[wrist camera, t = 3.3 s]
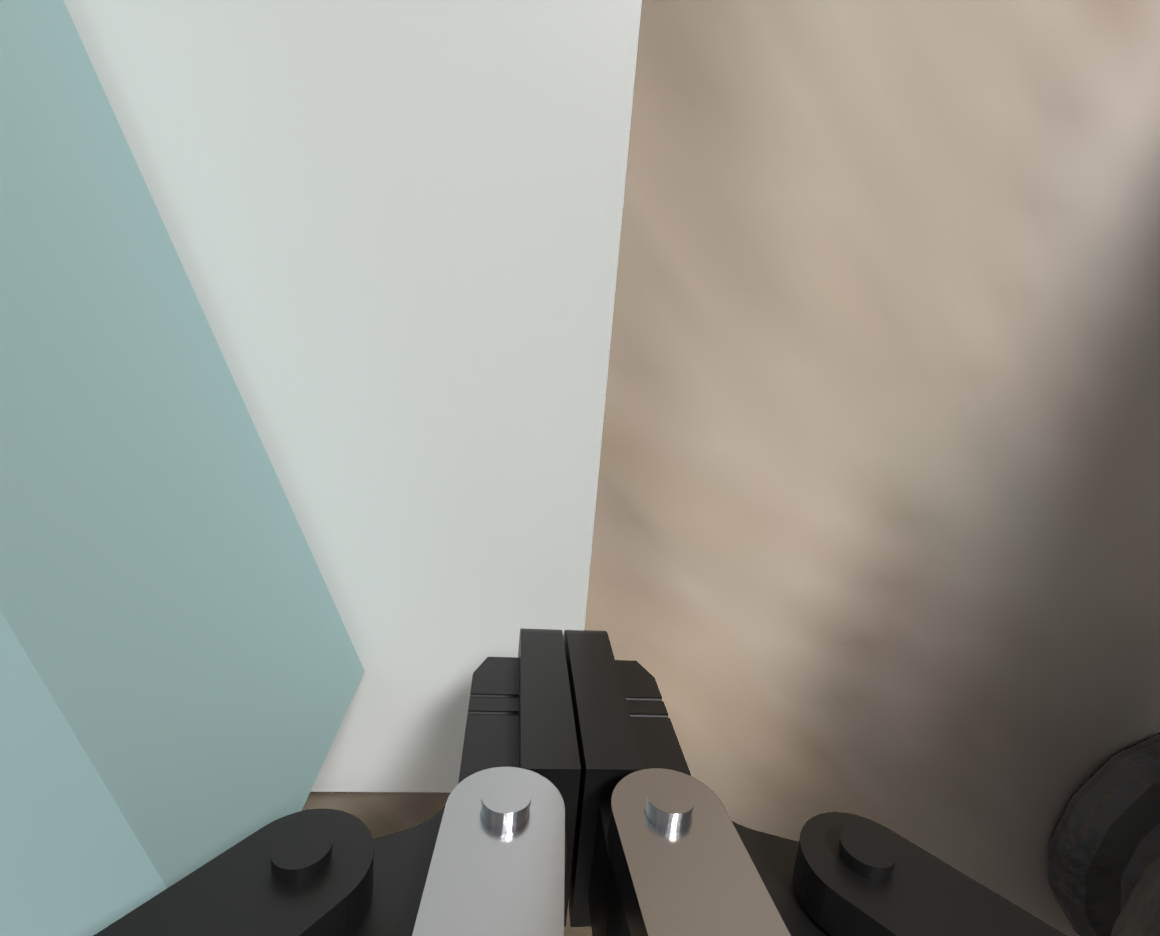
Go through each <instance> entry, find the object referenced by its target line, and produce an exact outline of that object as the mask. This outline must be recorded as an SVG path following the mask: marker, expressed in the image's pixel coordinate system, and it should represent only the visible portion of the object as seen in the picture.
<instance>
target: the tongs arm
mask: <svg viewBox="0 0 1160 936" xmlns="http://www.w3.org/2000/svg"><path fill="white" fill-rule="evenodd" d="M364 671H365V670H364V668H363V666H362V664H361V662H360V659H359V657H358V655H357V653H356V650H355V648H354V646H353V644H352V641H351V639H350V637H349V635H348V633H347V630H346V628H345V626H344V624H343V621H342V619H341V617H340V615H339V613H338V610H337V608H336V606H335V604H334V601H333V599H332V597H331V595H330V593H329V590H328V588H327V586H326V584H325V581H324V579H323V577H322V575H321V572H320V570H319V568H318V566H317V564H316V561H315V559H314V557H313V555H312V552H311V550H310V548H309V546H308V544H307V541H306V539H305V537H304V535H303V532H302V530H301V528H300V526H299V524H298V521H297V519H296V517H295V515H294V512H293V510H292V508H291V506H290V504H289V501H288V499H287V497H286V495H285V492H284V490H283V488H282V486H281V483H280V481H279V479H278V477H277V475H276V472H275V470H274V468H273V466H272V463H271V461H270V459H269V457H268V455H267V452H266V450H265V448H264V446H263V443H262V441H261V439H260V437H259V435H258V432H257V430H256V428H255V426H254V423H253V421H252V419H251V417H250V414H249V412H248V410H247V408H246V406H245V403H244V401H243V399H242V397H241V394H240V392H239V390H238V388H237V386H236V383H235V381H234V379H233V377H232V374H231V372H230V370H229V368H228V366H227V363H226V361H225V359H224V357H223V354H222V352H221V350H220V348H219V346H218V343H217V341H216V339H215V337H214V334H213V332H212V330H211V328H210V325H209V323H208V321H207V319H206V317H205V314H204V312H203V310H202V308H201V305H200V303H199V301H198V299H197V297H196V294H195V292H194V290H193V288H192V285H191V283H190V281H189V279H188V277H187V274H186V272H185V270H184V268H183V265H182V263H181V261H180V259H179V257H178V254H177V252H176V250H175V248H174V245H173V243H172V241H171V239H170V236H169V234H168V232H167V230H166V228H165V225H164V223H163V221H162V219H161V216H160V214H159V212H158V210H157V208H156V205H155V203H154V201H153V199H152V196H151V194H150V192H149V190H148V188H147V185H146V183H145V181H144V179H143V176H142V174H141V172H140V170H139V167H138V165H137V163H136V161H135V159H134V156H133V154H132V152H131V150H130V147H129V145H128V143H127V141H126V139H125V136H124V134H123V132H122V130H121V127H120V125H119V123H118V121H117V119H116V116H115V114H114V112H113V110H112V107H111V105H110V103H109V101H108V99H107V96H106V94H105V92H104V90H103V87H102V85H101V83H100V81H99V78H98V76H97V74H96V72H95V70H94V67H93V65H92V63H91V61H90V58H89V56H88V54H87V52H86V50H85V47H84V45H83V43H82V41H81V38H80V36H79V34H78V32H77V30H76V27H75V25H74V23H73V21H72V18H71V16H70V14H69V12H68V9H67V7H66V5H65V3H64V1H63V0H0V936H94V935H95V934H97V933H98V932H100V931H101V930H103V929H105V928H106V927H108V926H109V925H111V924H112V923H114V922H115V921H117V920H119V919H120V918H122V917H123V916H125V915H126V914H128V913H130V912H131V911H133V910H134V909H136V908H137V907H139V906H140V905H142V904H144V903H145V902H147V901H148V900H150V899H151V898H153V897H154V896H156V895H158V894H159V893H161V892H162V891H164V890H165V889H167V888H169V887H170V886H172V885H173V884H175V883H176V882H178V881H179V880H181V879H183V878H184V877H186V876H187V875H189V874H190V873H192V872H193V871H195V870H197V869H198V868H200V867H201V866H203V865H204V864H206V863H208V862H209V861H211V860H212V859H214V858H215V857H217V856H218V855H220V854H222V853H223V852H225V851H226V850H228V849H229V848H231V847H232V846H234V845H236V844H237V843H239V842H240V841H242V840H243V839H245V838H247V837H248V836H250V835H251V834H253V833H254V832H256V831H257V830H259V829H261V828H262V827H264V826H266V825H267V824H269V823H271V822H273V821H275V820H277V819H279V818H282V817H284V816H286V815H290V814H293V813H296V812H300V811H302V809H303V807H304V804H305V802H306V800H307V798H308V796H309V793H310V791H311V789H312V787H313V784H314V782H315V780H316V778H317V776H318V773H319V771H320V769H321V767H322V764H323V762H324V760H325V758H326V756H327V753H328V751H329V749H330V747H331V744H332V742H333V740H334V738H335V736H336V733H337V731H338V729H339V727H340V724H341V722H342V720H343V718H344V716H345V713H346V711H347V709H348V707H349V704H350V702H351V700H352V698H353V696H354V693H355V691H356V689H357V687H358V685H359V682H360V680H361V678H362V676H363V673H364Z"/></svg>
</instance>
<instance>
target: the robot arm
mask: <svg viewBox="0 0 1160 936" xmlns="http://www.w3.org/2000/svg"><path fill="white" fill-rule="evenodd" d="M568 900H569V912H570V924H571V927H581V926H592V935H593V936H1066V935H1064V934H1063V933H1061V932H1059V931H1058V930H1056V929H1054V928H1053V927H1051V926H1049V925H1048V924H1046V923H1044V922H1043V921H1041V920H1039V919H1038V918H1036V917H1034V916H1033V915H1031V914H1029V913H1028V912H1026V911H1024V910H1023V909H1021V908H1019V907H1018V906H1016V905H1014V904H1013V903H1011V902H1009V901H1008V900H1006V899H1004V898H1003V897H1001V896H999V895H998V894H996V893H994V892H993V891H991V890H989V889H988V888H986V887H984V886H983V885H981V884H979V883H978V882H976V881H974V880H973V879H971V878H969V877H968V876H966V875H964V874H963V873H961V872H959V871H958V870H956V869H954V868H953V867H951V866H949V865H948V864H946V863H944V862H943V861H941V860H939V859H938V858H936V857H934V856H933V855H931V854H929V853H928V852H926V851H924V850H923V849H921V848H919V847H918V846H916V845H914V844H913V843H911V842H909V841H908V840H906V839H905V838H903V837H901V836H900V835H898V834H896V833H895V832H893V831H891V830H890V829H888V828H886V827H884V826H882V825H880V824H878V823H876V822H874V821H871V820H869V819H866V818H863V817H860V816H857V815H852V814H848V813H838V812H834V813H824V814H819V815H817V816H815V817H812V818H811V819H810V820H809V821H807V822H806V824H805V825H804V826H803V828H802V831H801V834H800V840H799V842H797V841H793V840H789V839H785V838H781V837H777V836H774V835H770V834H766V833H762V832H758V831H755V830H752V829H749V828H746V827H744V826H741V825H739V824H737V823H735V822H733V821H731V819H730V817H729V815H728V813H727V811H726V809H725V807H724V805H723V804H722V802H721V801H720V799H719V798H718V796H717V795H716V794H715V793H714V792H713V791H712V790H711V789H710V788H709V787H708V786H706V785H705V784H704V783H702V782H701V781H699V780H697V779H695V778H693V777H691V774H690V771H689V769H688V766H687V763H686V761H685V758H684V755H683V753H682V750H681V747H680V745H679V742H678V739H677V737H676V734H675V731H674V729H673V726H672V723H671V721H670V718H668V713H667V710H666V707H665V705H664V702H663V701H662V697H661V694H660V691H659V689H658V686H657V683H656V681H655V678H654V677H653V676H652V675H651V674H650V673H649V672H648V671H647V670H645V669H644V668H643V667H642V666H641V665H640V664H639V663H638V662H637V661H623V660H615V659H614V655H613V652H612V648H611V645H610V641H609V637H608V634H607V632H606V631H586V630H565V631H564V634H563V633H562V630H553V629H524V628H520V635H519V649H518V658H516V657H487V658H486V659H485V660H484V661H483V663H482V664H481V665H480V666H479V667H478V668H477V669H476V670H475V672H474V673H473V676H472V684H471V691H470V699H469V706H468V715H467V721H466V728H465V736H464V743H463V751H462V758H461V766H460V773H459V781H458V785H457V786H456V787H455V788H454V789H453V790H452V792H451V794H450V795H449V797H448V800H447V802H446V805H445V807H444V808H443V809H442V810H441V811H440V812H439V813H438V814H436V815H435V816H434V817H433V818H431V819H429V820H428V821H426V822H424V823H423V824H420V825H418V826H416V827H414V828H411V829H408V830H405V831H402V832H399V833H395V834H391V835H387V836H383V837H379V838H376V839H372V836H371V833H370V831H369V830H368V828H367V827H366V825H365V824H364V823H363V822H362V821H361V820H359V819H358V818H356V817H355V816H353V815H351V814H348V813H346V812H343V811H338V810H333V809H312V810H305V811H300V812H296V813H293V814H290V815H286V816H284V817H282V818H279V819H277V820H275V821H273V822H271V823H269V824H267V825H266V826H264V827H262V828H261V829H259V830H257V831H256V832H254V833H253V834H251V835H250V836H248V837H247V838H245V839H243V840H242V841H240V842H239V843H237V844H236V845H234V846H232V847H231V848H229V849H228V850H226V851H225V852H223V853H222V854H220V855H218V856H217V857H215V858H214V859H212V860H211V861H209V862H208V863H206V864H204V865H203V866H201V867H200V868H198V869H197V870H195V871H193V872H192V873H190V874H189V875H187V876H186V877H184V878H183V879H181V880H179V881H178V882H176V883H175V884H173V885H172V886H170V887H169V888H167V889H165V890H164V891H162V892H161V893H159V894H158V895H156V896H154V897H153V898H151V899H150V900H148V901H147V902H145V903H144V904H142V905H140V906H139V907H137V908H136V909H134V910H133V911H131V912H130V913H128V914H126V915H125V916H123V917H122V918H120V919H119V920H117V921H115V922H114V923H112V924H111V925H109V926H108V927H106V928H105V929H103V930H101V931H100V932H98V933H97V934H95V935H94V936H564V927H566V917H567V907H568Z"/></svg>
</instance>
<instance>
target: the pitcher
mask: <svg viewBox="0 0 1160 936" xmlns="http://www.w3.org/2000/svg"><path fill="white" fill-rule="evenodd" d="M1049 881H1050V886H1051V888H1052V891H1053V893H1054V895H1055V897H1056V899H1057V900H1058V902H1059V904H1060V906H1061V907H1062V909H1063V911H1064V913H1065V915H1066V916H1067V918H1068V920H1069V922H1070V923H1071V925H1072V927H1073V929H1074V930H1075V931H1076V932H1077V933H1078V934H1079V935H1080V936H1160V734H1158V735H1156V736H1154V737H1151V738H1149V739H1147V740H1145V741H1143V742H1141V743H1139V744H1136V745H1134V746H1132V747H1130V748H1128V749H1126V750H1124V751H1122V752H1119V753H1117V754H1115V755H1113V756H1112V757H1111V758H1110V759H1109V760H1108V761H1107V762H1106V763H1105V764H1104V765H1103V766H1102V767H1101V768H1100V769H1099V770H1098V771H1097V772H1096V773H1095V774H1094V775H1093V776H1092V777H1091V778H1090V779H1089V780H1088V781H1087V782H1086V783H1085V784H1084V785H1083V786H1082V787H1081V788H1080V789H1079V790H1078V791H1077V792H1076V793H1075V794H1074V795H1073V796H1072V797H1071V799H1070V801H1069V803H1068V805H1067V807H1066V809H1065V812H1064V814H1063V816H1062V818H1061V820H1060V822H1059V824H1058V826H1057V828H1056V830H1055V832H1054V834H1053V836H1052V838H1051V840H1050V842H1049Z"/></svg>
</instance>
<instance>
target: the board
mask: <svg viewBox="0 0 1160 936" xmlns="http://www.w3.org/2000/svg"><path fill="white" fill-rule="evenodd" d="M63 1H64V3H65V5H66V7H67V9H68V12H69V14H70V16H71V18H72V21H73V23H74V25H75V27H76V30H77V32H78V34H79V36H80V38H81V41H82V43H83V45H84V47H85V50H86V52H87V54H88V56H89V58H90V61H91V63H92V65H93V67H94V70H95V72H96V74H97V76H98V78H99V81H100V83H101V85H102V87H103V90H104V92H105V94H106V96H107V99H108V101H109V103H110V105H111V107H112V110H113V112H114V114H115V116H116V119H117V121H118V123H119V125H120V127H121V130H122V132H123V134H124V136H125V139H126V141H127V143H128V145H129V147H130V150H131V152H132V154H133V156H134V159H135V161H136V163H137V165H138V167H139V170H140V172H141V174H142V176H143V179H144V181H145V183H146V185H147V188H148V190H149V192H150V194H151V196H152V199H153V201H154V203H155V205H156V208H157V210H158V212H159V214H160V216H161V219H162V221H163V223H164V225H165V228H166V230H167V232H168V234H169V236H170V239H171V241H172V243H173V245H174V248H175V250H176V252H177V254H178V257H179V259H180V261H181V263H182V265H183V268H184V270H185V272H186V274H187V277H188V279H189V281H190V283H191V285H192V288H193V290H194V292H195V294H196V297H197V299H198V301H199V303H200V305H201V308H202V310H203V312H204V314H205V317H206V319H207V321H208V323H209V325H210V328H211V330H212V332H213V334H214V337H215V339H216V341H217V343H218V346H219V348H220V350H221V352H222V354H223V357H224V359H225V361H226V363H227V366H228V368H229V370H230V372H231V374H232V377H233V379H234V381H235V383H236V386H237V388H238V390H239V392H240V394H241V397H242V399H243V401H244V403H245V406H246V408H247V410H248V412H249V414H250V417H251V419H252V421H253V423H254V426H255V428H256V430H257V432H258V435H259V437H260V439H261V441H262V443H263V446H264V448H265V450H266V452H267V455H268V457H269V459H270V461H271V463H272V466H273V468H274V470H275V472H276V475H277V477H278V479H279V481H280V483H281V486H282V488H283V490H284V492H285V495H286V497H287V499H288V501H289V504H290V506H291V508H292V510H293V512H294V515H295V517H296V519H297V521H298V524H299V526H300V528H301V530H302V532H303V535H304V537H305V539H306V541H307V544H308V546H309V548H310V550H311V552H312V555H313V557H314V559H315V561H316V564H317V566H318V568H319V570H320V572H321V575H322V577H323V579H324V581H325V584H326V586H327V588H328V590H329V593H330V595H331V597H332V599H333V601H334V604H335V606H336V608H337V610H338V613H339V615H340V617H341V619H342V621H343V624H344V626H345V628H346V630H347V633H348V635H349V637H350V639H351V641H352V644H353V646H354V648H355V650H356V653H357V655H358V657H359V659H360V662H361V664H362V666H363V668H364V670H365V671H364V673H363V676H362V678H361V680H360V682H359V685H358V687H357V689H356V691H355V693H354V696H353V698H352V700H351V702H350V704H349V707H348V709H347V711H346V713H345V716H344V718H343V720H342V722H341V724H340V727H339V729H338V731H337V733H336V736H335V738H334V740H333V742H332V744H331V747H330V749H329V751H328V753H327V756H326V758H325V760H324V762H323V764H322V767H321V769H320V771H319V773H318V776H317V778H316V780H315V782H314V784H313V787H312V789H311V791H310V792H438V793H451V792H452V790H453V789H454V788H455V787H456V786H457V785H458V781H459V773H460V766H461V758H462V751H463V743H464V736H465V728H466V721H467V715H468V706H469V699H470V691H471V684H472V676H473V673H474V672H475V670H476V669H477V668H478V667H479V666H480V665H481V664H482V663H483V661H484V660H485V659H486V658H487V657H516V658H518V649H519V635H520V628H524V629H553V630H562V633H563V634H564V631H565V630H584V627H585V616H586V605H587V594H588V583H589V572H590V561H591V550H592V539H593V528H594V517H595V506H596V495H597V485H598V474H599V463H600V452H601V441H602V430H603V419H604V408H605V397H606V386H607V375H608V364H609V353H610V342H611V331H612V321H613V310H614V299H615V288H616V277H617V266H618V255H619V244H620V233H621V222H622V211H623V200H624V189H625V178H626V167H627V157H628V146H629V135H630V124H631V113H632V102H633V91H634V80H635V69H636V58H637V47H638V36H639V25H640V14H641V3H642V0H63Z"/></svg>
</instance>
